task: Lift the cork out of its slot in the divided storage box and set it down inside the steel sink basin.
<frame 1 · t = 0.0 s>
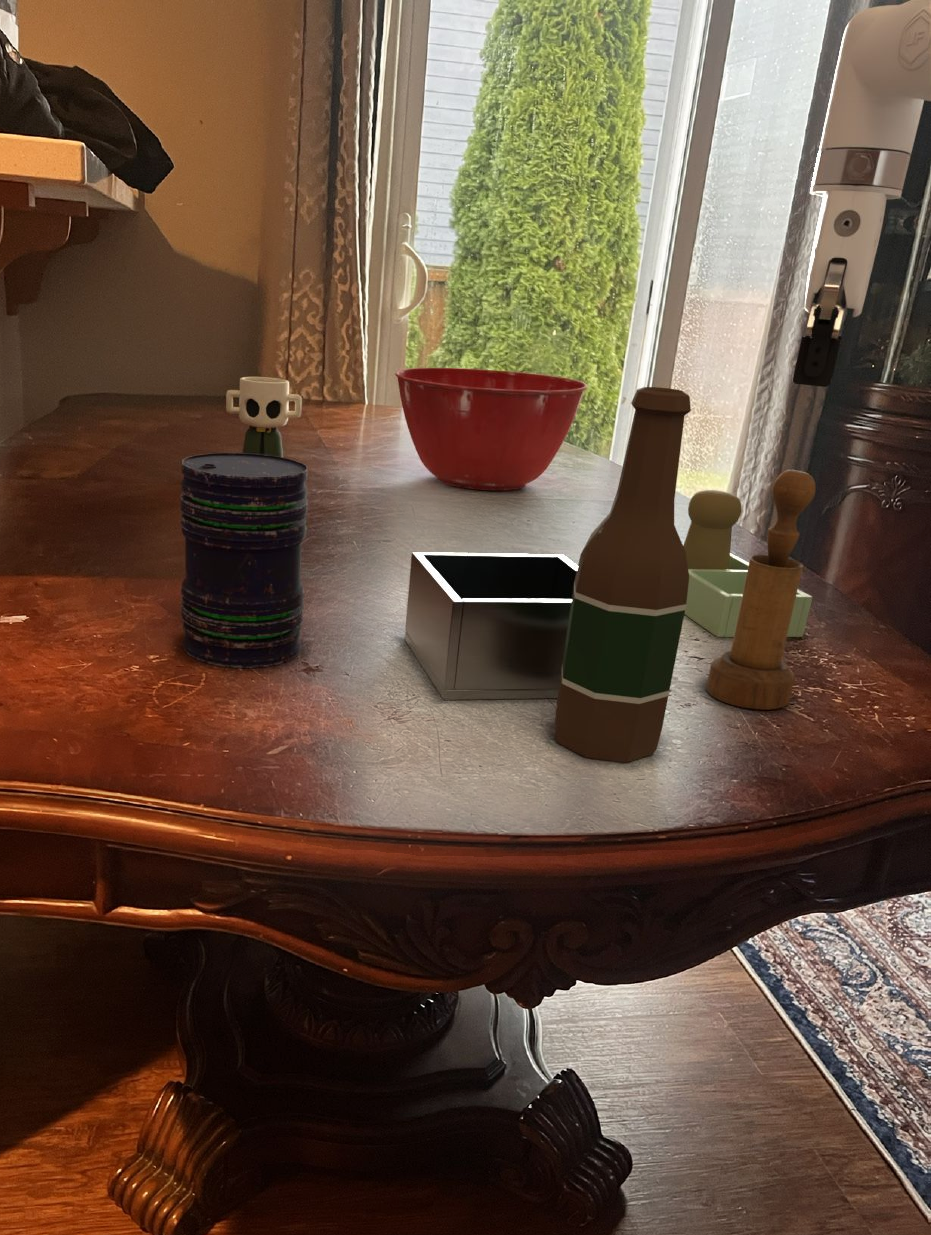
hand: (812, 381, 99), 22 cm above the table, tool pointing down, fingers open, 9 cm apart
oil drum: (242, 649, 87), on the table
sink: (501, 667, 87), on the table
character mug: (262, 471, 156), on the table
mixing bowl: (479, 482, 161), on the table
cork: (696, 597, 111), resting in divided storage box
beer bottle: (603, 742, 75), on the table
divided storage box: (716, 608, 107), on the table
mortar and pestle: (746, 697, 85), on the table
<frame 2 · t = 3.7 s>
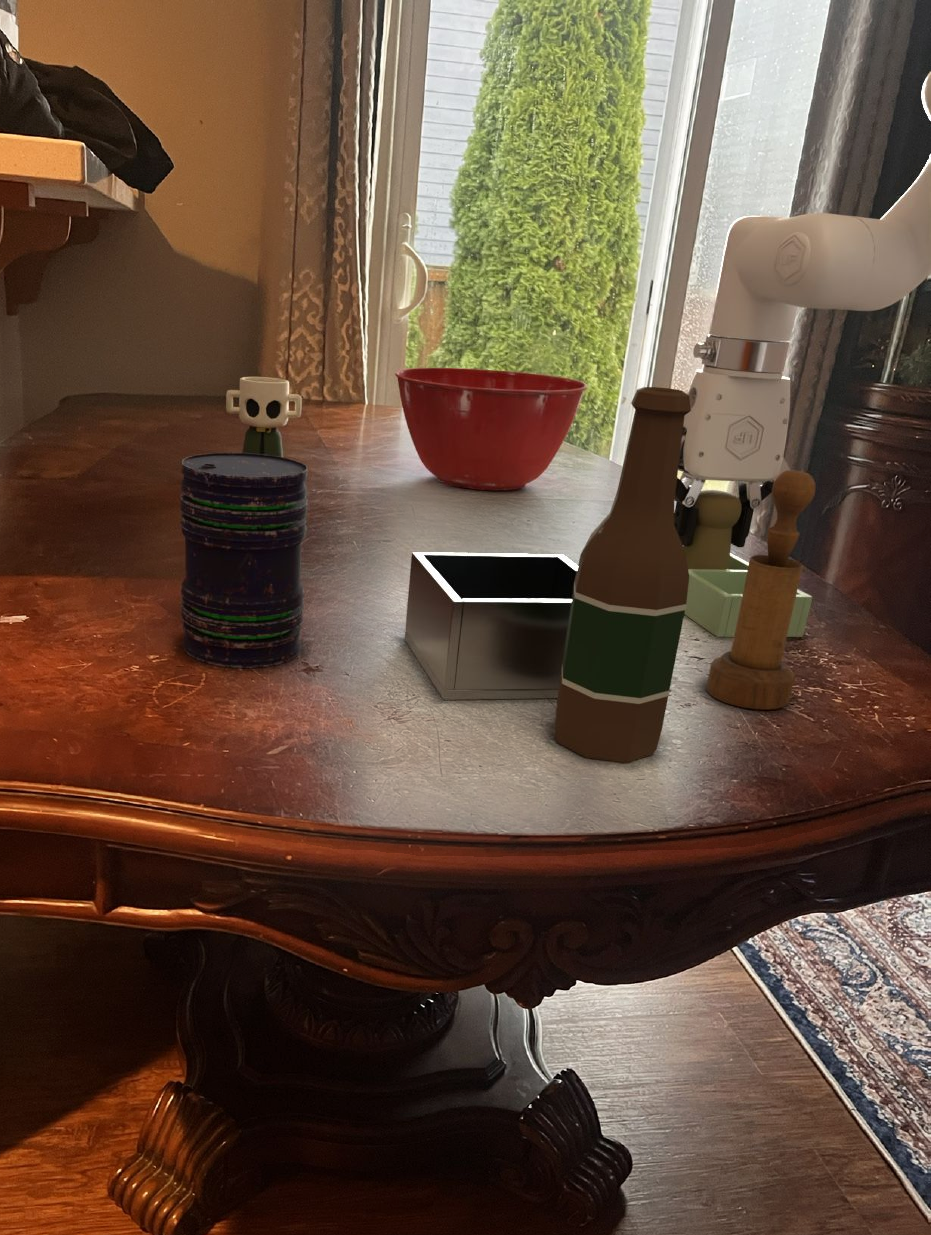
hand: (708, 541, 108), 6 cm above the table, tool pointing down, fingers closed on cork, 5 cm apart
cork: (696, 597, 111), resting in divided storage box, touching gripper
everything else where it was.
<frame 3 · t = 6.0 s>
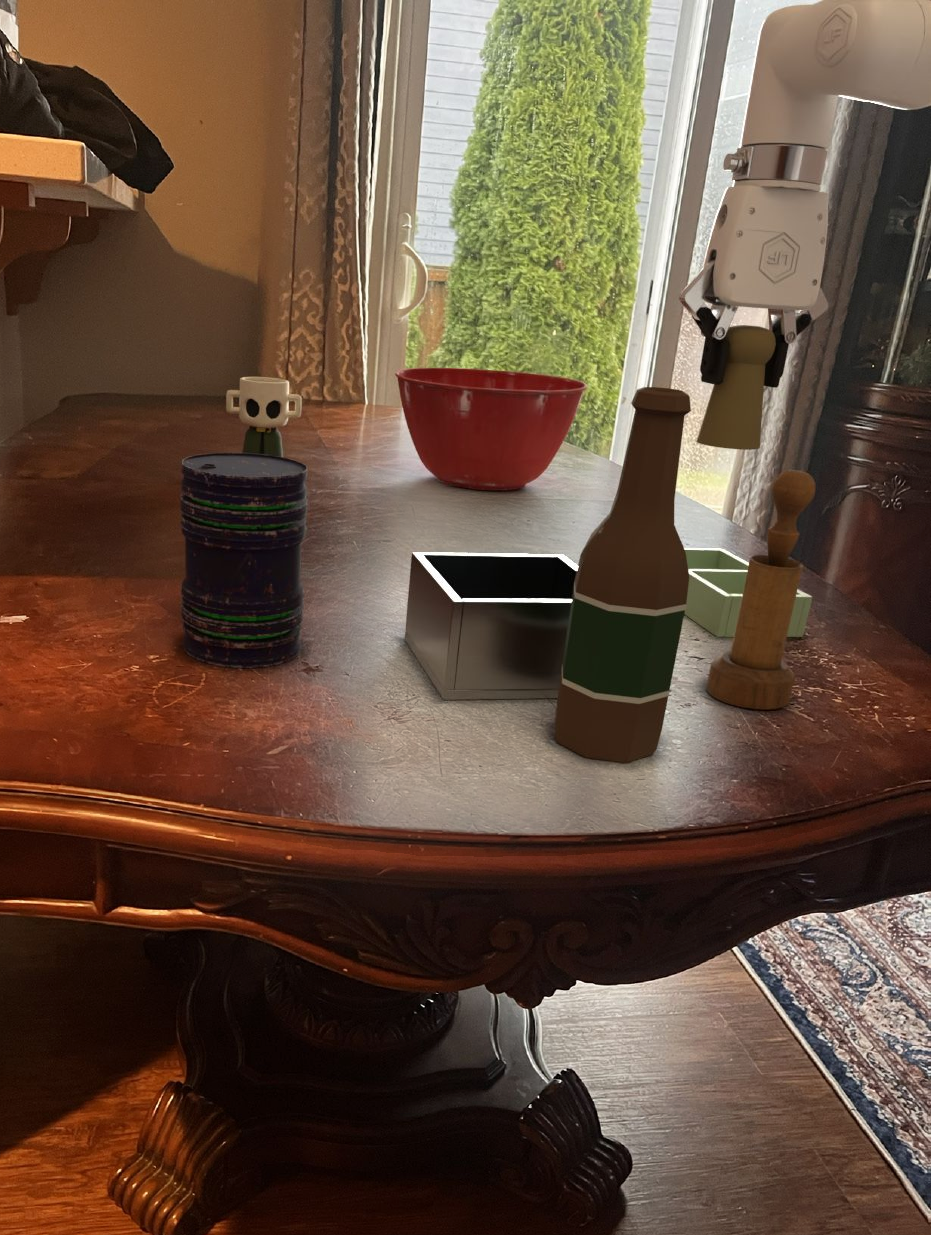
hand: (739, 382, 101), 22 cm above the table, tool pointing down, fingers closed on cork, 5 cm apart
cork: (727, 446, 103), point 16 cm above the table, touching gripper
everything else where it was.
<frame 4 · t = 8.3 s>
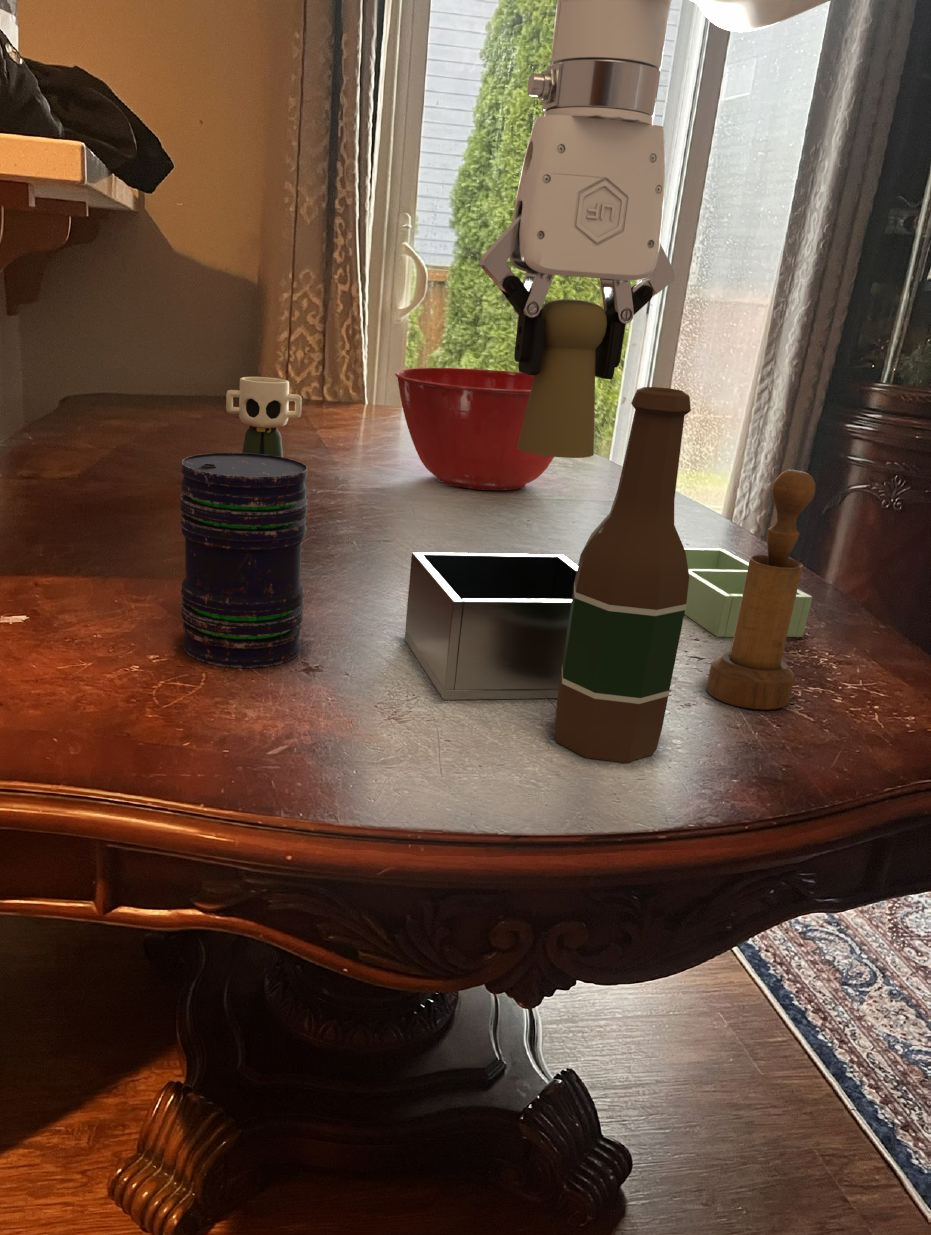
hand: (565, 372, 80), 23 cm above the table, tool pointing down, fingers closed on cork, 5 cm apart
cork: (554, 453, 82), point 17 cm above the table, touching gripper
everything else where it was.
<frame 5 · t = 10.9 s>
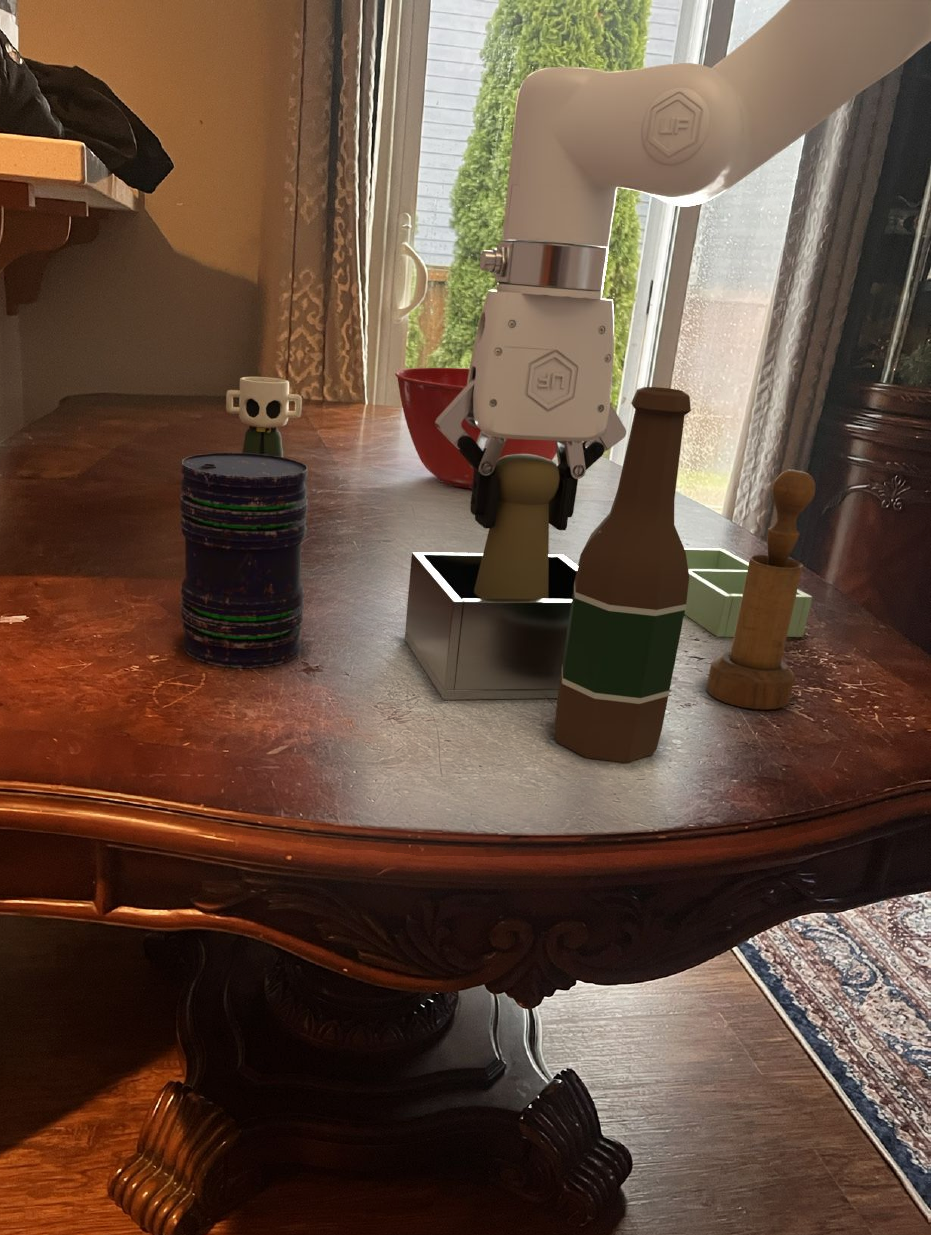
hand: (520, 522, 82), 12 cm above the table, tool pointing down, fingers closed on cork, 5 cm apart
cork: (510, 596, 84), point 6 cm above the table, touching gripper
everything else where it was.
when the fingers open (7 cm above the table, at t = 12.7 s): cork stays where it is, resting on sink.
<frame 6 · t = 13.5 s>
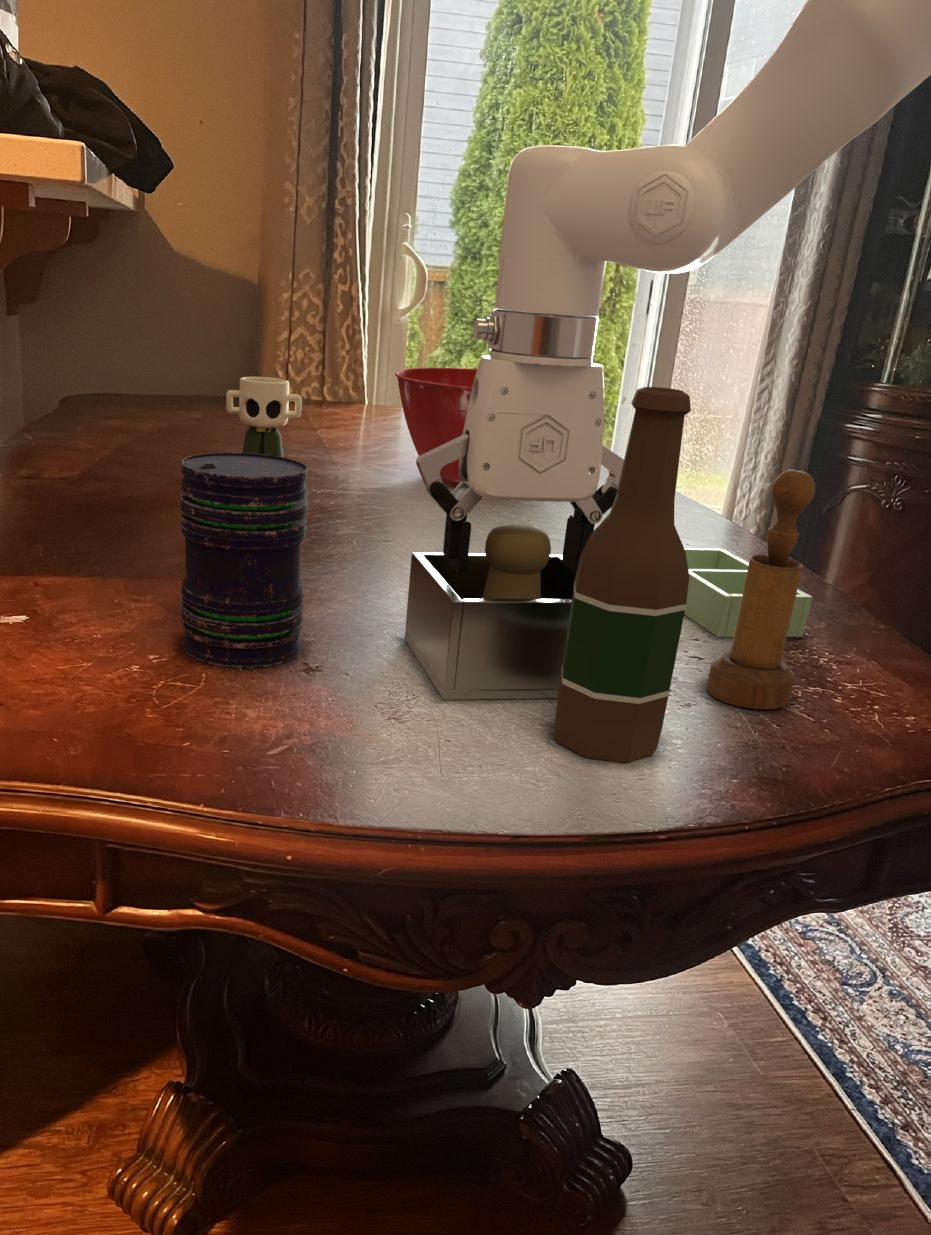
hand: (515, 568, 83), 8 cm above the table, tool pointing down, fingers open, 9 cm apart
cork: (503, 660, 87), point 1 cm above the table, touching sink
everything else where it was.
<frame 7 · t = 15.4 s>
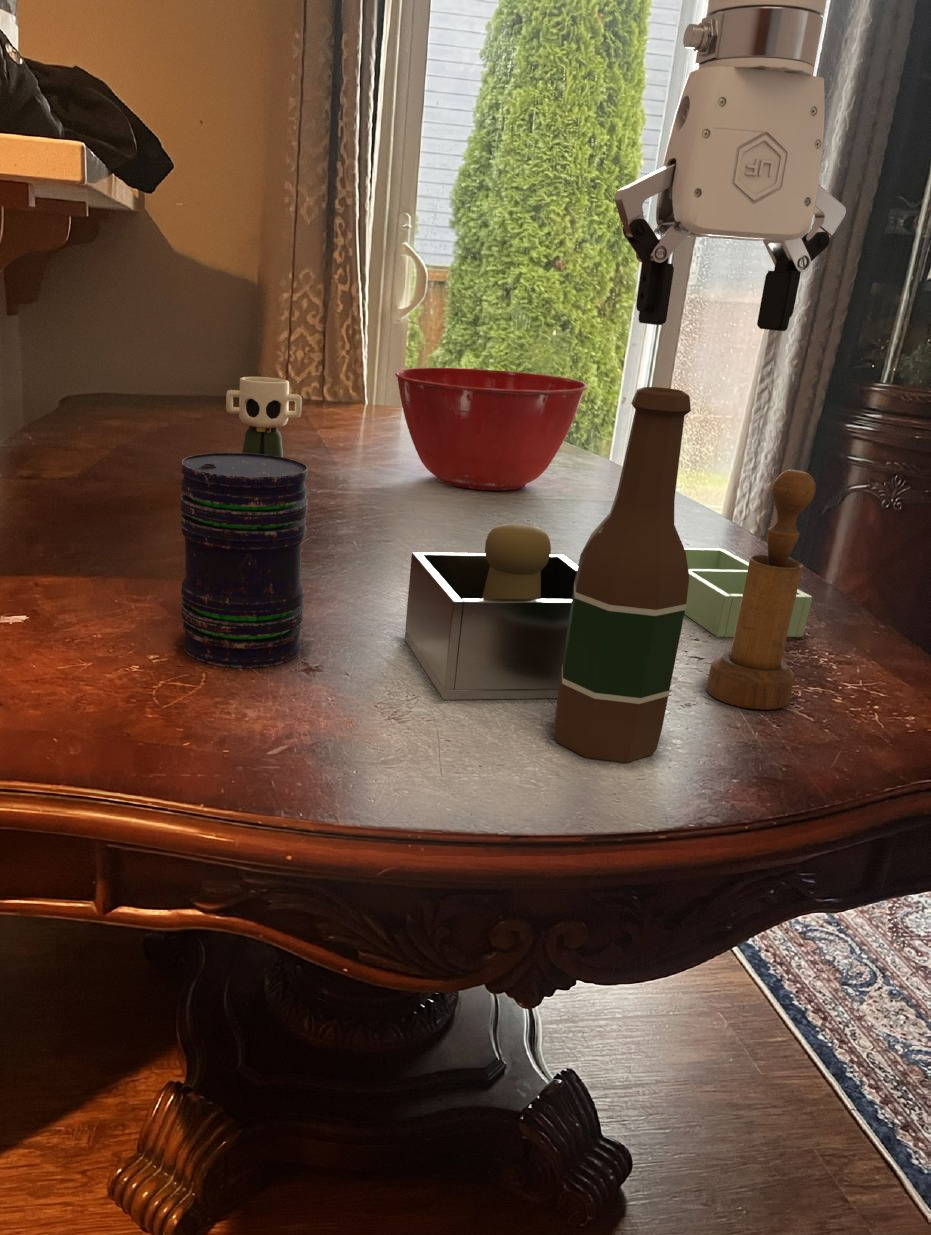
hand: (712, 326, 77), 27 cm above the table, tool pointing down, fingers open, 9 cm apart
nothing on the table moved.
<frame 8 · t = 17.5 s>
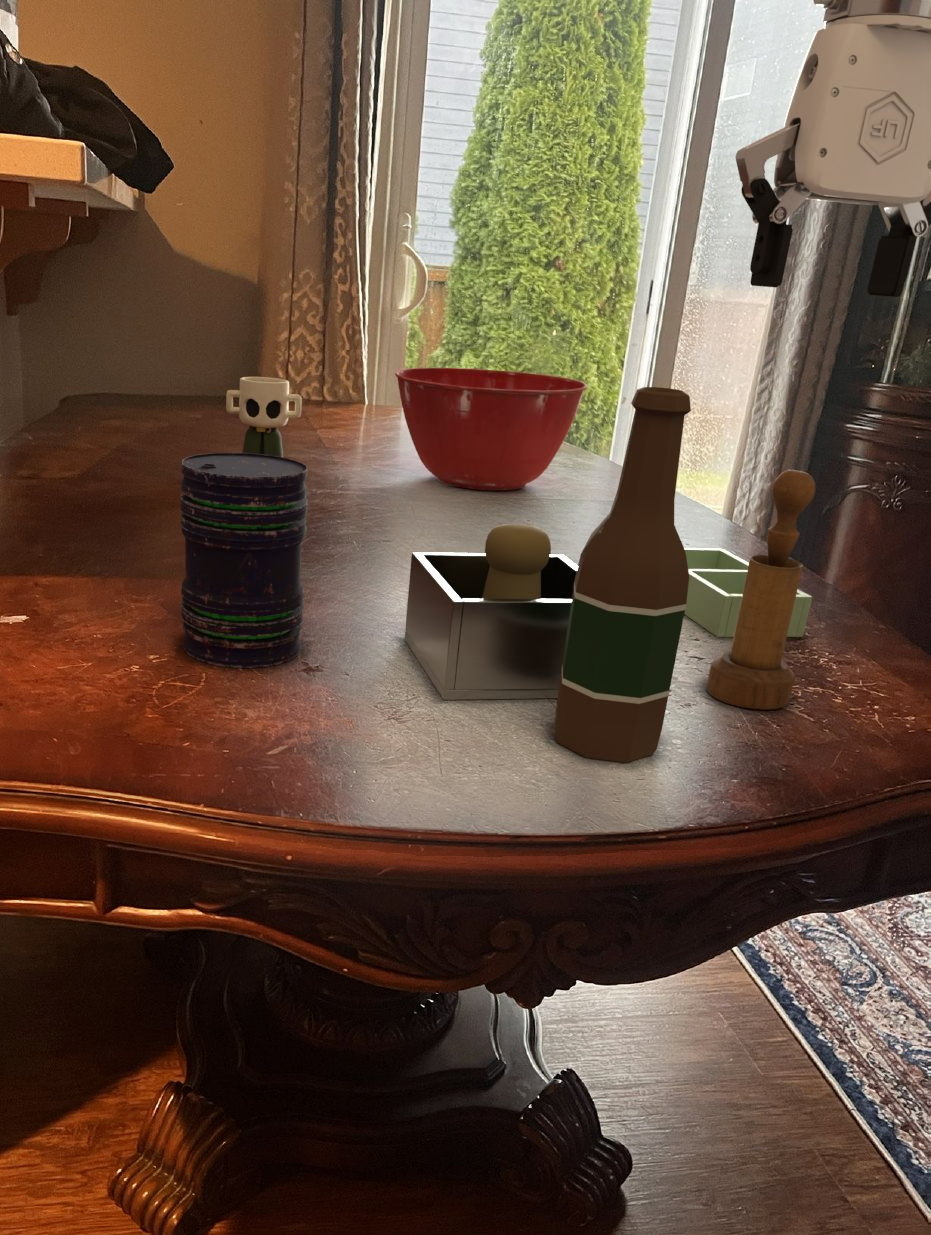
hand: (824, 291, 76), 30 cm above the table, tool pointing down, fingers open, 9 cm apart
nothing on the table moved.
at the end: cork inside the target area in the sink (0.1 cm from its centre), point 0.6 cm above the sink's base; cork tilted 0° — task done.
